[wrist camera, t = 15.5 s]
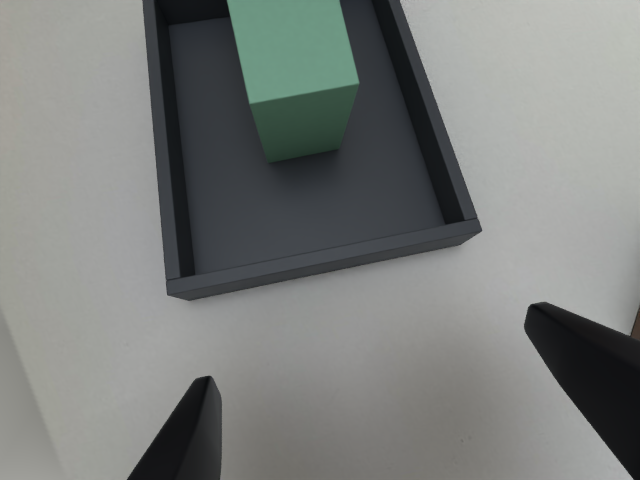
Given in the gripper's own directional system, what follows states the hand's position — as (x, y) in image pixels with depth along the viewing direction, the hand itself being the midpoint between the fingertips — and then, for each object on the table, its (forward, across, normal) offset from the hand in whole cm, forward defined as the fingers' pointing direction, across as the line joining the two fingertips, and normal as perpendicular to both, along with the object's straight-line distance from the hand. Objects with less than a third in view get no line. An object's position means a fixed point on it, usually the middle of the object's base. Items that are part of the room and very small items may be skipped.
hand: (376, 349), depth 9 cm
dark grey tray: (+19, 0, -3) cm, 19 cm away
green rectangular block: (+13, 0, -4) cm, 13 cm away
